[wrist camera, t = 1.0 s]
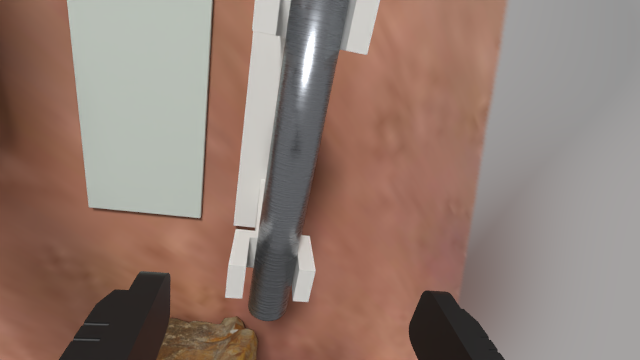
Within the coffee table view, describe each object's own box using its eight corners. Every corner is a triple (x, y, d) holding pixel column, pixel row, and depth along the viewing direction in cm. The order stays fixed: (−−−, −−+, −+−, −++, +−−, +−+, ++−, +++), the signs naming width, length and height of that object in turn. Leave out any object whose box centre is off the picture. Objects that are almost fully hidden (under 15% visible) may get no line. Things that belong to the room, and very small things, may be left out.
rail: (282, 290, 28) (290, 319, 25) (246, 292, 27) (250, 322, 24) (349, -55, 18) (372, -69, 15) (295, -73, 17) (311, -92, 14)
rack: (234, 218, 39) (209, 331, 24) (262, -48, 28) (247, -142, 13) (298, 225, 41) (311, 334, 26) (347, -25, 30) (419, -87, 15)
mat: (91, 204, 36) (88, 207, 35) (60, -101, 25) (56, -104, 25) (201, 215, 38) (200, 218, 38) (216, -60, 27) (215, -62, 27)
